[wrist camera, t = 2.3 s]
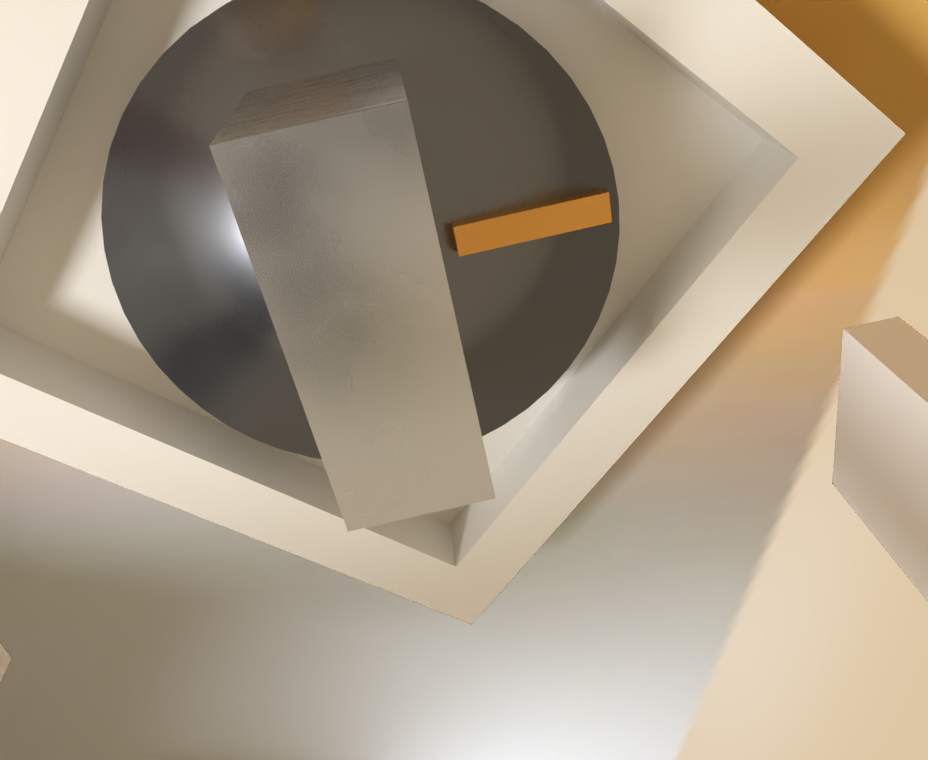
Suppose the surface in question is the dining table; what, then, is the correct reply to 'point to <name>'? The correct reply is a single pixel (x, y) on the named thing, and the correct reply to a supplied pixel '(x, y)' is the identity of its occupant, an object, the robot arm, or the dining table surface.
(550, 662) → the dining table surface
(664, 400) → the dial housing
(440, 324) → the dial
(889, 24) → the dining table surface
